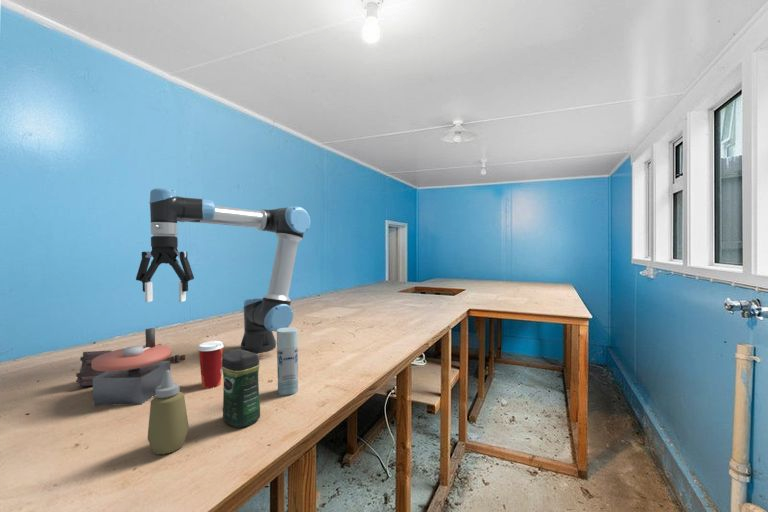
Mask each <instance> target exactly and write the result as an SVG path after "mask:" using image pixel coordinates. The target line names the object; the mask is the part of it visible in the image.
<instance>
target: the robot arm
mask: <svg viewBox="0 0 768 512" xmlns="http://www.w3.org/2000/svg"><path fill="white" fill-rule="evenodd" d="M148 203H149V210H150V211H149V212H150V215H149V216H150V235H152V236H151V237H150V247H151V251H141V261H140V263H139V267H138V271H137V274H136V276H135V280H136V281H139V282H141V283H142V292H143V293H144V299H145V300H144V301H145V302H144V303H150V302H153V301H154V294H153V293H154V292H153V289H154V288H153V287H154V286H153V281H152V278H153V276H154V274H155V273H156V271H157V269H158V268H159V266H160V265H161V264H169V265H170V266H171V268H172V269H173V271H174V272H175V274H176V275H177V277H178V278H179V280H180V281H179V282H178V302H179V303H183V302H185V301H187V292H189V282H190V281H192V280H194V279H195V276H194V274H193V271H192V267H191V265H190V261H189V259H188V252H187V251H179V250H178V247H179V246H178V242H179V241H178V240H179V239H178V236H177V235H178V222H179V223H187V222H188V223H198V224H199V223H200V224H209V225H210V224H211V225H223V226H232V227H233V226H235V227H243V228H244V227H245V228H253V229H254V228H255V229H257V230H258V231H262V232H263V231H264V232H269V233H275V236H276V237H277V245H276V249H275V254H274V260H273V265H272V270H271V275H270V279H269V285H268V290H267V293H266V294H265V295H263V296H260V297H252V298H246V299H245V300H244V301H243V320H244V321H243V323H244V324H243V325H244V330H243V331H244V333H243V335H242V339H241V343H240V348H239V349H241V350H245V351H249V352H252V353H255V354H258V353H266V352H268V351H272V350H274V349H275V348H277V339H276V338H275V335H274V332H276V333H277V330H278V329H280V328H284V327H290V325H291V324H292V322H293V319H294V311H293V308H292V307H291V303H292V300H291V298H290V297H289V296H290V295H289V294H290V289H291V284H292V279H293V278H292V277H293V272H294V267H295V263H296V257H297V250H298V245H299V243H300V242H301V241H302V240H303V239H304V234H305V233H306V232H307V231H309V229H310V227H311V217H310V215H309V213H308V211H307V210H306V209H305V208H303V207H301V206H293V205H292V206H288V207H280V208H274V209H264V208H260V209H259V210H254V209H244V208H238V207H237V208H236V207H229V206H223V205H221V206H220V205H215V203H214V202H213V200H210V199H205V198H195V197H193V198H192V197H184V196H183V197H182V196H178V194H177V191H176V190H175V189H170V188H162V187H161V188H153V189H151V190H150V193H149V202H148ZM177 257H178V259H179V260H178V259H177ZM151 258H153V259H152V260H151ZM179 261H180V263H181V265H180V264H179ZM149 264H150V265H149Z"/></svg>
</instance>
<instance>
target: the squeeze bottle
mask: <svg viewBox="0 0 768 512" xmlns="http://www.w3.org/2000/svg"><path fill="white" fill-rule="evenodd" d="M155 392H156V395H155V396H153V397H152V398H151V401H150V406H149V417H148V428H147V441H148V442H149V445H150V447H151V449H152V451H153V453H154V452H155V453H156V454H155V453H154V454H155V455H158V454H163V455H166V454H165V453H169V452H172V453H174V452H176V451H178V450H180V449H181V448H182V447H184V443H185V440H186V438H187V435H188V432H189V429H190V428H189V427H190V426H189V425H190V424H189V420H188V419H189V418H188V414H187V405H186V398H185V394H184V392H181V391H180V383H178V382H174V379H173V376H172V373H171V369H170V370H166V371H164V374H163V379H162V383H161V385H160V386H158V387H157V388H156V389H155ZM180 447H181V448H180ZM179 448H180V449H179ZM177 449H178V450H177ZM175 450H176V451H175ZM173 451H174V452H173ZM169 454H170V453H169Z"/></svg>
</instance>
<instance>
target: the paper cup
mask: <svg viewBox="0 0 768 512" xmlns="http://www.w3.org/2000/svg"><path fill="white" fill-rule="evenodd" d="M224 347H225V346H224V344H223V342H222V341H220V340H210V341H209V340H208V341H205V342H202V343H200V344H199V346H198V348H197V351H198V353H199V354H198V356H199V367H200V376H201V377H200V378H201V387H202V388H203V389H207V388H208V389H213V387H214V388H217V387H219V386H220V385H221V384H222V374H223V371H222V359H223V349H224Z"/></svg>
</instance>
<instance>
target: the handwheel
mask: <svg viewBox="0 0 768 512" xmlns="http://www.w3.org/2000/svg"><path fill="white" fill-rule="evenodd" d="M170 357H172V348H171V347H170V346H168V345H163V344H161V345H158V344H156V329H155V328H154V327H150V328H146V329H145V344H144V345H132V346H128V347H124V348H120V349H116V350H111V352H108V353H105V354H102V355H100V356H97V357H96V358H94V359H93V360H92V361H91V364H92V369H93V370H96V371H105V372H110V371H123V370H133V369H137V368H141V367H145V366H149V365H152V364H156V363H158V362H161V361H163V360H165V359H167V358H170Z"/></svg>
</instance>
